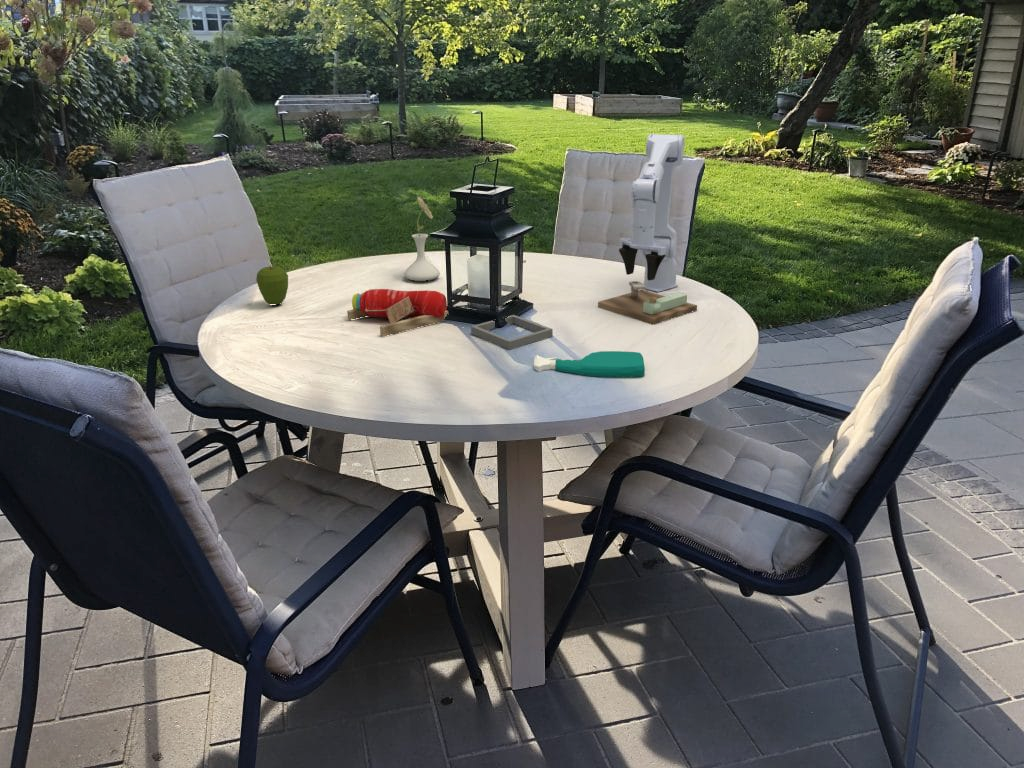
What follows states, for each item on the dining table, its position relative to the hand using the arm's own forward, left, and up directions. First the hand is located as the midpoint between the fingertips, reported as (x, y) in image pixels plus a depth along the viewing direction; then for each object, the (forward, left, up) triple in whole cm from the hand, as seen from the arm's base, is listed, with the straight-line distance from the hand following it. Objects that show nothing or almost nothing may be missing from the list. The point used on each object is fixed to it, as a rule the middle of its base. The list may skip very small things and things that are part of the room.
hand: (640, 276), depth 207 cm
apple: (+72, -71, -10) cm, 102 cm away
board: (-4, 0, -10) cm, 10 cm away
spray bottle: (+39, +20, -10) cm, 45 cm away
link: (-4, +6, -8) cm, 11 cm away
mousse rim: (+38, -8, -10) cm, 40 cm away
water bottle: (+53, -37, -10) cm, 66 cm away
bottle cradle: (+53, -37, -10) cm, 66 cm away
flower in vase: (+25, -67, -10) cm, 72 cm away
